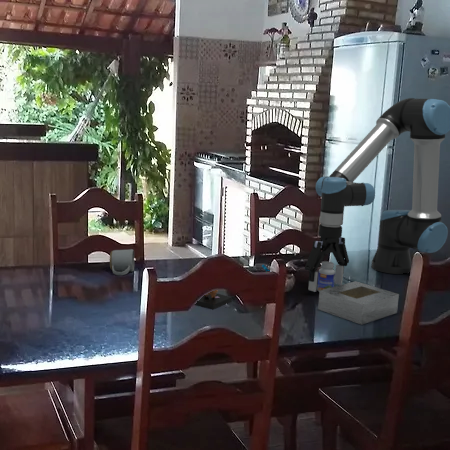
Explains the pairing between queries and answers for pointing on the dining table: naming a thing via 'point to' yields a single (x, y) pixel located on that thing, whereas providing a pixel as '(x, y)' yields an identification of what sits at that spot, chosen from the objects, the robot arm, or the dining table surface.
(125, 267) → the ceramic mug
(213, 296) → the figurine
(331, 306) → the white flat square box
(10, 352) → the dining table surface
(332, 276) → the pill bottle
